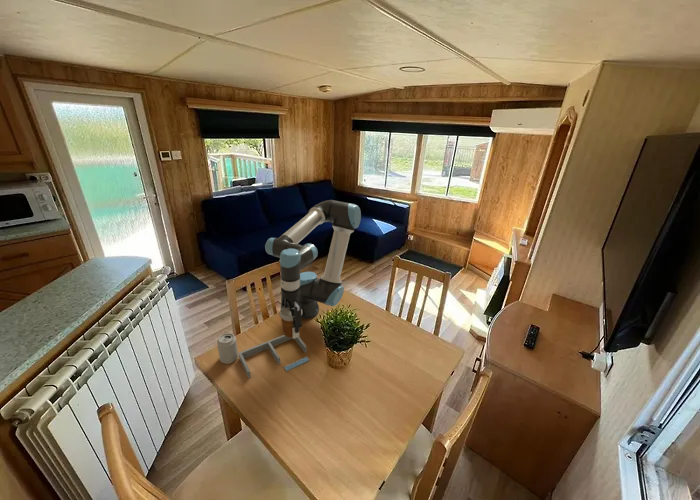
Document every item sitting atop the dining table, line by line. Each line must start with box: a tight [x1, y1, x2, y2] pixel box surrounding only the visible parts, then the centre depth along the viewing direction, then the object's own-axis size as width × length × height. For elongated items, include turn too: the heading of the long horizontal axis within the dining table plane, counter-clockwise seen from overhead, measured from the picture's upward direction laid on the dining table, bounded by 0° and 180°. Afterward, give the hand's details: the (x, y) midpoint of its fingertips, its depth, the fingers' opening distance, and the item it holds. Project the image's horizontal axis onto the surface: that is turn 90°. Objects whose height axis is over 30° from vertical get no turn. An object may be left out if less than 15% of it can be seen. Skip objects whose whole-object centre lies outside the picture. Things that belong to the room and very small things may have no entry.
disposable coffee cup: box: [278, 306, 303, 338], centre depth 118 cm, size 10×10×12 cm
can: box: [216, 332, 239, 364], centre depth 121 cm, size 8×8×12 cm
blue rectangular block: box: [283, 356, 310, 372], centre depth 123 cm, size 11×2×1 cm, turn 127°
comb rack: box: [238, 334, 308, 379], centre depth 126 cm, size 27×12×4 cm, turn 127°
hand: (291, 331), depth 121 cm, fingers closed on disposable coffee cup, 8 cm apart
